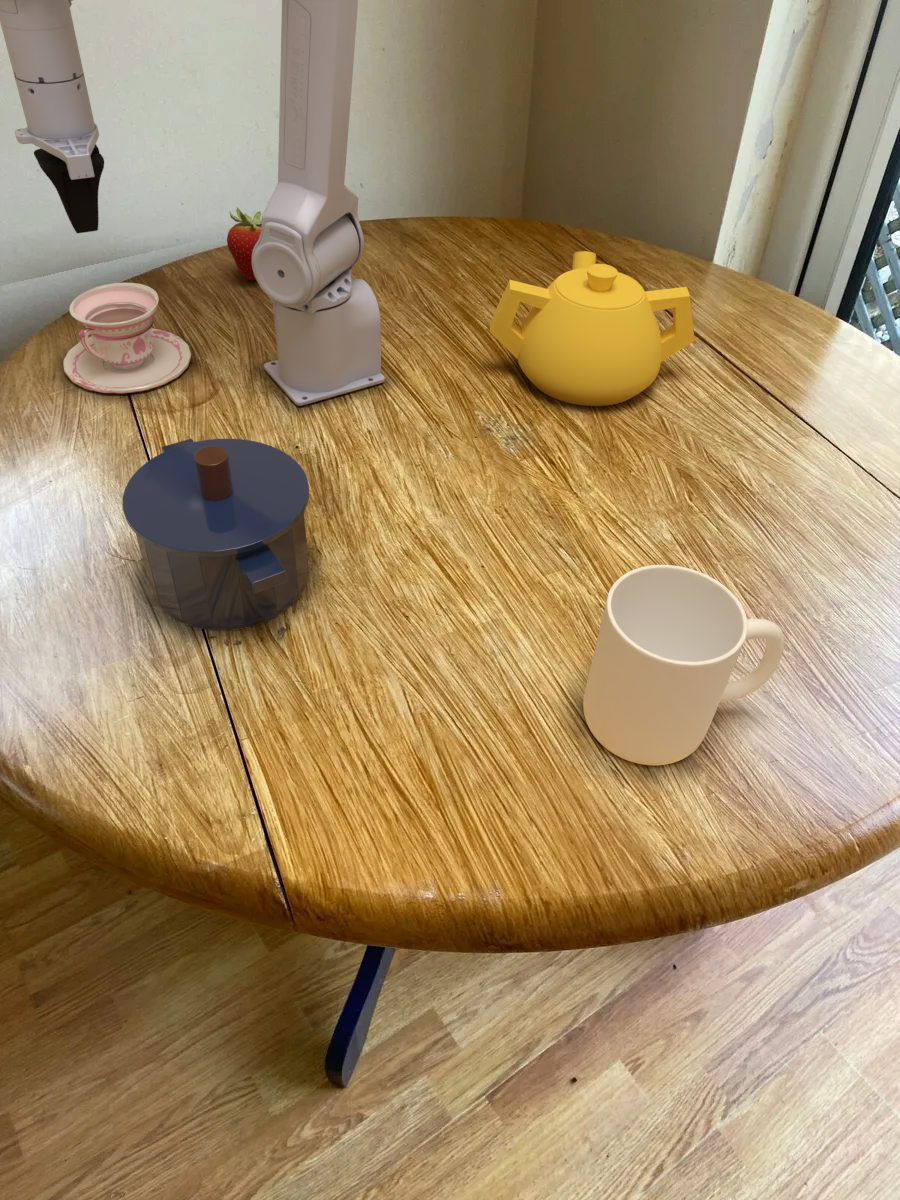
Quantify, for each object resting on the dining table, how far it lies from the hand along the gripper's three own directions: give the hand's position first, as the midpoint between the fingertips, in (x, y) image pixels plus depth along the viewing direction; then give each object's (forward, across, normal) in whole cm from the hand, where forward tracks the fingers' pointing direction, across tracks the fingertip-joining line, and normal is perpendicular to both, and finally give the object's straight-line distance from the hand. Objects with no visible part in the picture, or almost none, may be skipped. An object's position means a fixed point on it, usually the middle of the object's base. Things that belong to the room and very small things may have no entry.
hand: (86, 229), depth 88 cm
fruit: (+9, -3, +17) cm, 20 cm away
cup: (+9, +68, +22) cm, 72 cm away
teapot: (+9, +27, +42) cm, 51 cm away
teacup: (+9, +10, 0) cm, 14 cm away
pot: (+9, +43, 0) cm, 44 cm away
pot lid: (+2, +43, 0) cm, 43 cm away
